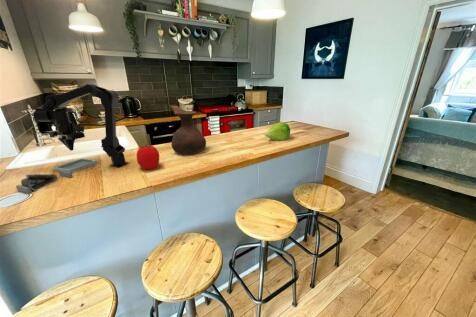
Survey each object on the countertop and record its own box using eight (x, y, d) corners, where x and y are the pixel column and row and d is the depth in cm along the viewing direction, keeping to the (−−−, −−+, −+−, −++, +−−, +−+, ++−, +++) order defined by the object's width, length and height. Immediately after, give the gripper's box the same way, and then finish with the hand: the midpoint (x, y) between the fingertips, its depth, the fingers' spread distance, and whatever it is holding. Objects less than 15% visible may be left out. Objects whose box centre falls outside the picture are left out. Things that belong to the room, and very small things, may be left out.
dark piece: (48, 179, 98) (16, 171, 87) (59, 175, 96) (28, 166, 86) (43, 198, 93) (9, 192, 83) (54, 194, 92) (21, 188, 82)
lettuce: (258, 142, 156) (259, 122, 150) (282, 138, 164) (284, 119, 159) (269, 147, 143) (270, 125, 138) (294, 143, 152) (296, 123, 147)
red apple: (151, 174, 102) (147, 149, 97) (133, 171, 106) (128, 147, 101) (166, 165, 112) (163, 143, 108) (149, 163, 116) (145, 141, 112)
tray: (97, 164, 115) (96, 160, 115) (69, 174, 102) (68, 170, 101) (83, 161, 119) (82, 158, 118) (54, 171, 106) (53, 167, 105)
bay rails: (73, 178, 98) (71, 172, 97) (29, 195, 84) (26, 189, 83) (62, 175, 101) (60, 170, 100) (18, 192, 86) (15, 185, 85)
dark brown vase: (203, 146, 145) (200, 104, 135) (209, 156, 126) (206, 107, 116) (172, 150, 139) (166, 105, 128) (173, 160, 120) (166, 109, 109)
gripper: (91, 119, 106) (98, 147, 111) (67, 117, 112) (76, 144, 117) (67, 123, 96) (77, 154, 101) (43, 121, 102) (54, 150, 108)
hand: (71, 150), depth 107 cm, fingers closed
